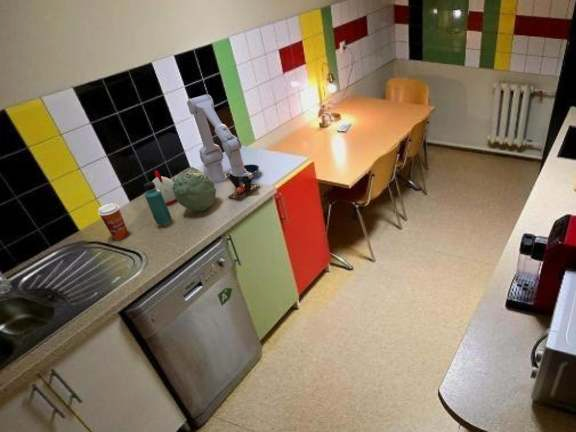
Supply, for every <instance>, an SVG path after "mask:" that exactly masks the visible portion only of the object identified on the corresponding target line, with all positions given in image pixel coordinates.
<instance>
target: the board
mask: <svg viewBox="0 0 576 432" xmlns="http://www.w3.org/2000/svg"><path fill="white" fill-rule="evenodd" d="M259 187H260V185H259V184H255V183H251V190H249V191H247V190H245V191H244V192H242V193H241V194H237V193H236V190H235V191H233V192H232V193H231V194H230V195H228V199H229V200H235V201H239V202H241V201H243V200H244V199H245V198H247V197H248V196H250V195H251V194H252V192H253V191H255V190H257V189H258V188H259Z"/></svg>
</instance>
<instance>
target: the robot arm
mask: <svg viewBox="0 0 576 432" xmlns="http://www.w3.org/2000/svg"><path fill="white" fill-rule="evenodd" d="M186 104H187V108H188V111H189V114H190V115H191V116H194V119H195V123H196V125H197V129H198V132H199V135H200V139H201V142H202V146H201V147H200V149H199V151H198V152H199V159H200V161H201V163H202V170H203V174H204V175H205V176H207V175H208V177H209V178H211V179H212V180H213V182H214V183H216V182H220V181H225V180H227V179H228V180H229V181H230V182H231V183H232V184H233V186H234V187H235V190H236V189H237V188H238V187H239V186H241V182H242V184H244V185H245V188H246V190H247V191H249V190H251V184H252V181H253V180H252V178H253V174H252V173H249V172H248V171H246V169H245V168H244V165H245V164H244V161H243V157H242V153H241V149H242V143H241V141H240V140H239V138H238V137H237V136H235V135H234V134H232V132H231V131H230V129H229V128H228V126H227V124H224V123H222V121H221V120H220V118H219V116H218V114H217V112H216V110H215V104H214V99H213V97H212V96H211V95H210V94H208V93H206V94H202V95H199V96H196V97H192V98H188V99H187V101H186ZM208 121H209V122H210V124H211V125H212V126H213V127H214V133H215V134H216V136H217V137H218V139H219V140H220V142H221V144H222V149H223V150H224V152H223V151H222V149H221V146H220V145H218V144H216V143H215V142H214V138H213V136H212V132H211V129H210V125H209V122H208ZM224 153H225V154H226V157H228V162H229V165H230V168H228V169H225V170H224V166H223V163H222V162H223V159H224V158H225V157H224ZM227 175H228V176H227ZM239 176H242V177H244V178H243V179H241V181H239Z"/></svg>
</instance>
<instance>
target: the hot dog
mask: <svg viewBox="0 0 576 432" xmlns="http://www.w3.org/2000/svg"><path fill="white" fill-rule="evenodd" d="M245 190H246V188H245V185H244V183H242V184H240V186H239V187H238V188H237V189H236V188H235V191H236V193H237V194H241V193H242V192H244V191H245Z"/></svg>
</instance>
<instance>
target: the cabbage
mask: <svg viewBox="0 0 576 432" xmlns="http://www.w3.org/2000/svg"><path fill="white" fill-rule="evenodd" d="M172 181H173V182H174V184H173V187H172V188H173V191H174V195H175V198H176V200H177V201H178V202H177V203H178V204H179V205H180V206H182V207H183V208H185V209H187V210H189V211H191V212H202V211H204V210H206V209H208V208H209V207H211V206H212V204H214V201H215V198H216V195H217V189H216V185H215V182H213V180H212V179H211V178H209V177H208V175H207V176H205V174H204V172H202V171H201V170H199V169H197V168H195V167H194V166H190V167H188V168H185V169H184V170H183V171H180V172H179V174H177V176H174V177H173V178H172Z"/></svg>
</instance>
